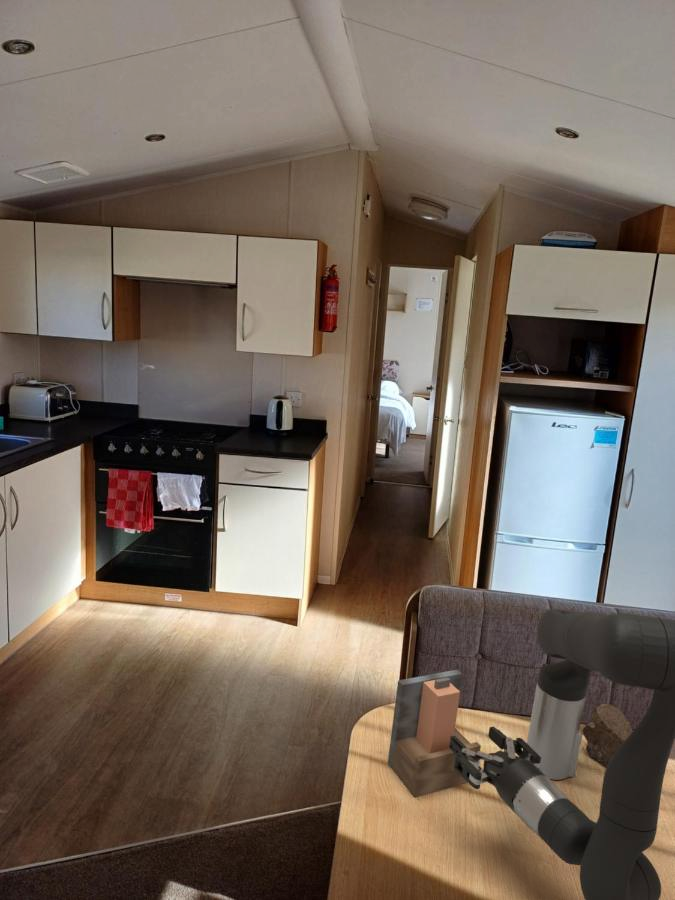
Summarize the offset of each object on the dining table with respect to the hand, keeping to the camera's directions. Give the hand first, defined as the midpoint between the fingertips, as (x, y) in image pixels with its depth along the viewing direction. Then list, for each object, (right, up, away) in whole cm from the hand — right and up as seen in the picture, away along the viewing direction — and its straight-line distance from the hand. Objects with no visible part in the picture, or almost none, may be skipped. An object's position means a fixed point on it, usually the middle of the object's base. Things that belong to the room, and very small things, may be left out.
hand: (471, 735), depth 116 cm
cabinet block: (-5, -6, +11) cm, 13 cm away
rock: (+32, -14, +21) cm, 41 cm away
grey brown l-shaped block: (-5, -12, +11) cm, 17 cm away
